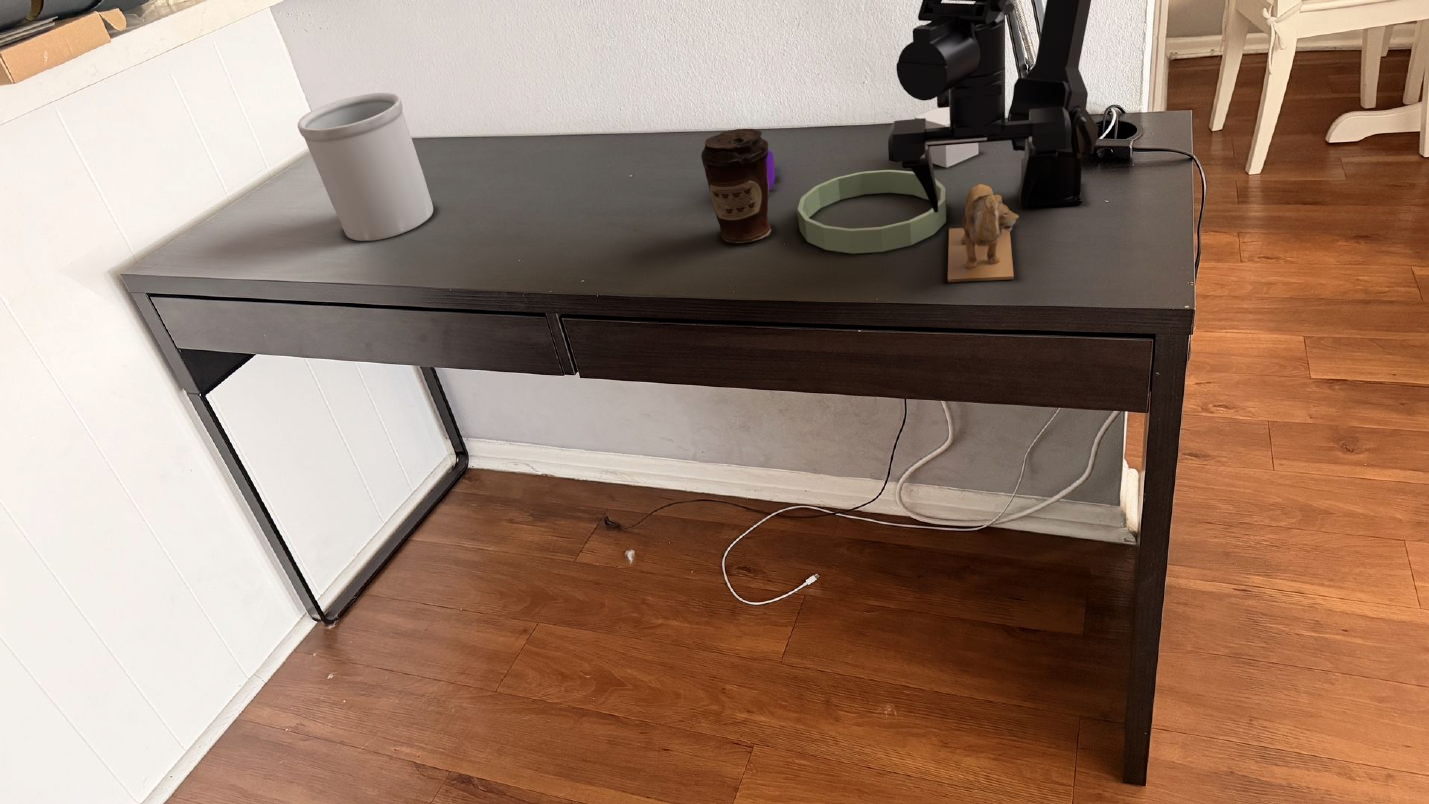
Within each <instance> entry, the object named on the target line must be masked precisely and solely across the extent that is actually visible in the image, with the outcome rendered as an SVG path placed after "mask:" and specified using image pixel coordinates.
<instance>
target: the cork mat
mask: <svg viewBox="0 0 1429 804" xmlns="http://www.w3.org/2000/svg"><path fill="white" fill-rule="evenodd" d="M964 234H965V231H964V229H963V227H956V228H954V227H953V228H948V247H947V248H948V249H947V252H948V253H947V283H963V282H964V283H965V282H982V281H983V282H984V281H1006V280H1007V281H1008V280H1014V265H1013V264H1014V263H1013V255H1012V254H1013V253H1012V241H1011V231H1006V230H1005V229H1003V230H1002V235H1001V236H1000V237H999V238H998V243H997V247H996V255H997V257H1000V259H1001V261H999V262H998V263H996V264H992V263H990V262H989V260H988V258H987V251H988V246H977V245H975V254H976V258H977V265H976V267H974V268H968V267H966V265H965V263H966V262H967V260H968V255H967V251H966V244H965V243H962V242H961V239H962V238H963V236H964Z"/></svg>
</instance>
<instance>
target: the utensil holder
mask: <svg viewBox="0 0 1429 804" xmlns="http://www.w3.org/2000/svg"><path fill="white" fill-rule="evenodd" d="M403 110H404V109H403V102H402V100H401V98H400V96H399V95H397V94H395V93H391V92H373V93H367V94H366V93H365V94H359V95H355V96H350V97H346V98H342V99H339V100H335V101H333V102H330V103H327V104H324V105H322V106H319V107H317V108H315V109H313V110H311V111H309V112H307V113H306V114H304V115H303V116H301V118H300V119H299V120H298V122H297V128H298V129H297V130H298V132H299V133H300V135H301V136H302V137H303V139H304V141H305V143H306V146H307V148H308V151H309V153H310V156H311V157H312V158H311V159H312V161H313V162H314V165H315V167H316V169H317V171H318V174H319V177H320V179H321V181H322V183H323V186H324V188H325V191H326V193H327V195H328V198H329V201H330V203H331V205H332V207H333V209H334V211H335V213H336V216H337V218H338V221H339V223H340V225H341V227H342V231H343V232H344V234H345V235H346V237H347V238H349V239H351V240H353V241H357V242H359V241H360V242H371V241H380V240H386V239H389V238H393V237H396V236H399V235H401V234H404V233H406V232H409V231H411V230H414V229H415V228H417V227H419V226H422V224H424V223H426V222H427V220H429V219H430V218H431V217H432V215H433V213H434V206H433V201H432V199H431V196H430V191H429V189H428V186H427V182H426V179H425V175H424V172H423V170H422V169H423V168H422V166H421V163H420V160H419V157H418V154H417V151H416V147H415V145H414V141H413V139H412V136H411V133H410V129H409V127H408V124H407V121H406V118H405V115H404V112H403Z"/></svg>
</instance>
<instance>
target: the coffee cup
mask: <svg viewBox="0 0 1429 804" xmlns="http://www.w3.org/2000/svg"><path fill="white" fill-rule="evenodd" d="M762 134H763V132H762V131H761V130H757V129H754V128H736V129H732V130H728V131H722V132H720V133H719V134H717V135H712V136H710V137H708V138H706V139H705V140H704V148H703V149H702V151H701V154H700V155H701V156H700V159H701V161H702V166H703V168H704V172H705V178H706V181H707V185H708V186H707V187H708V191H709V194H710V198H711V202H712V207H713V211H714V213H715V217H716V220H717V222H718V226H719V229H720V230H719V231H720V236H721V238H722V239H723V240H724V241H725V242H728V243H734V244H744V243H750V242H754V241H758V240H762V239H763V238H765V237H768V236H770V235H771V232H772V228H771V225H770V223H769V219H768V217H769V216H768V211H769V197H770V192H769V191H770V190H769V183H768V175H767V157H768V150H769V142H768V141H767V140H766V139H764V138H762Z"/></svg>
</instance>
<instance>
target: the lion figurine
mask: <svg viewBox="0 0 1429 804" xmlns="http://www.w3.org/2000/svg"><path fill="white" fill-rule="evenodd" d="M964 211H965V212H964V216H963V219H962V228H963V229H964V231H965V234H964V236H963V238H962V239H961V242H962V243H965V244H966V251H967V255H968V260H967V262H966V263H965V265H966V267H968V268H974V267H976V265H977V258H976V254H975V245H977V246H988V251H987V258H988V260H989V262H990V263H992V264H996V263H998V262H999V261H1001V259H1000V257H997V255H996V247H997V243H998V238H999V237H1000V236H1001V235H1002V230H1003V229H1005V230H1006V231H1010V232H1011V231H1012V230H1013V226H1014V224H1015V223H1016V221H1017V220H1018V219H1019V215H1018V214H1017V213H1015V212H1013V211H1011V210H1010V209H1009V207H1008V206H1007V205H1006V204H1004V203H1003V199H1002V195H1001V194H997V193H995V194H994V192H993V189H992V188H991V187H990V186H989V185H985V184H982V183H978V184H976V185H975V186H973V187H971V188H970V189H969V191H968V193H967V195H966V198H965V210H964Z"/></svg>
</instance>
